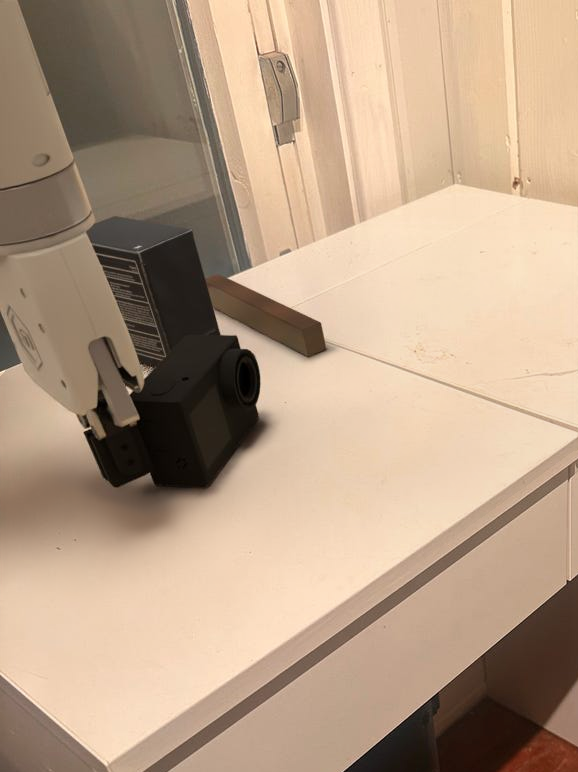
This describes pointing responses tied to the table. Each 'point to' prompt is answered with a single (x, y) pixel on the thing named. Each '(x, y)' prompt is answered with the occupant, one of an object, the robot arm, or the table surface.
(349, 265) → the table surface
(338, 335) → the table surface
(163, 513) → the table surface
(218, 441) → the digital camera
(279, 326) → the brown wooden bar
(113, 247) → the small box
